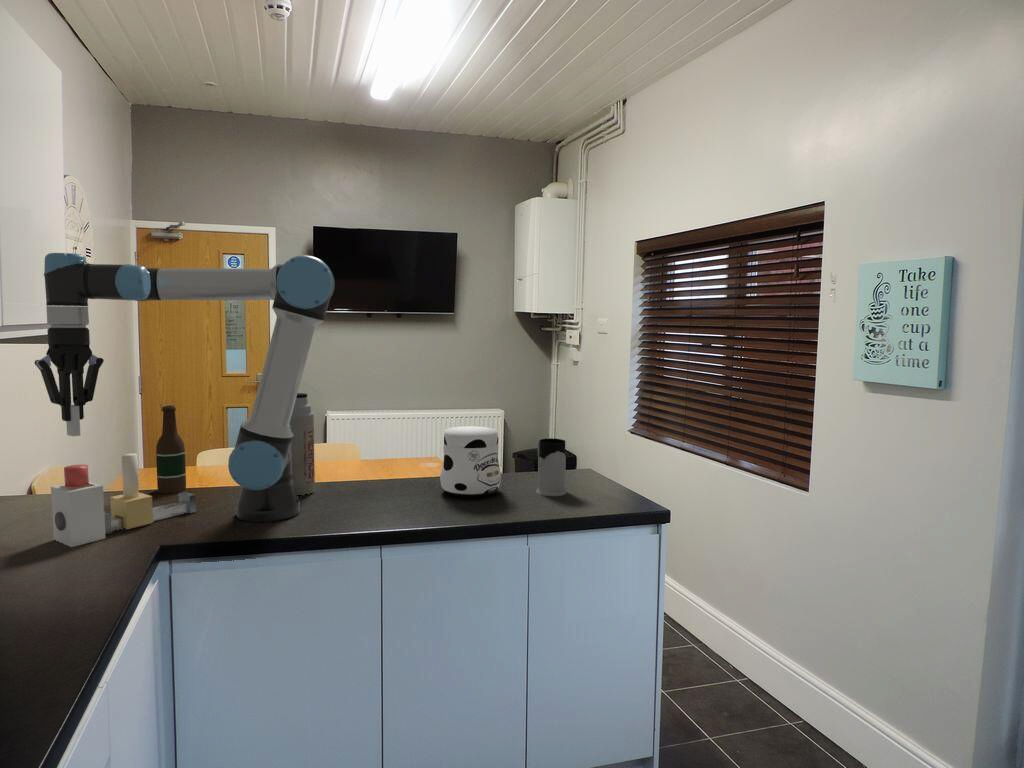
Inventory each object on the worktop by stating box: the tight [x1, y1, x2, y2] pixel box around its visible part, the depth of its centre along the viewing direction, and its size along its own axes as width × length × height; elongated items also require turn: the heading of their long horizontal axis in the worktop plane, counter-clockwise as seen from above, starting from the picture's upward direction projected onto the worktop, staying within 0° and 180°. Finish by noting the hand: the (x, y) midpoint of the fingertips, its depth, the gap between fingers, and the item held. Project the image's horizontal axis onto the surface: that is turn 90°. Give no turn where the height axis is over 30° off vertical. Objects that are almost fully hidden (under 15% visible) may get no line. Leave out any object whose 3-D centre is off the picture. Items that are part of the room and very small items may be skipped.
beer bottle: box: [155, 405, 187, 495], centre depth 190 cm, size 8×8×24 cm
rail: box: [104, 491, 197, 535], centre depth 164 cm, size 5×22×4 cm, turn 147°
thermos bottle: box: [289, 392, 316, 496], centre depth 190 cm, size 8×8×28 cm
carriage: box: [110, 453, 154, 530], centre depth 160 cm, size 7×6×16 cm
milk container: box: [439, 425, 502, 498], centre depth 193 cm, size 17×17×18 cm
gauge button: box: [63, 464, 90, 487], centre depth 149 cm, size 4×4×4 cm
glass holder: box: [535, 437, 567, 497], centre depth 198 cm, size 9×14×15 cm, turn 21°
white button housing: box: [50, 481, 107, 548], centre depth 150 cm, size 8×7×12 cm
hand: (73, 435), depth 148 cm, fingers closed
